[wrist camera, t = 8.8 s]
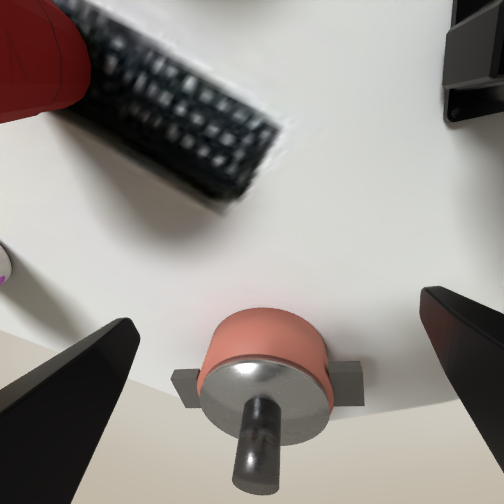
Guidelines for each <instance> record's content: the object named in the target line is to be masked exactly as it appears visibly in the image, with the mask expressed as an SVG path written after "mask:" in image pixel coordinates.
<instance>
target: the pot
mask: <svg viewBox="0 0 504 504" xmlns="http://www.w3.org/2000/svg"><path fill="white" fill-rule="evenodd" d="M246 354H263V355H271V356H276V357H280V358H284V359H287V360H290V361H292V362H295V363H297V364H299V365H301V366H302V367H304V368H306V369H307V370H309V371H310V372H311V373H312V374H314V375H315V376H316V377H317V378H318V379H319V380H320V382H321V383H322V384H323V386H324V388H325V390H326V392H327V396H328V402H329V410H330V414H331V411H332V409H333V406H365V405H364V388H363V371H362V368H361V364H360V361H348V362H328V359H327V353H326V348H325V344H324V341H323V339H322V337H321V335H320V334H319V332H318V331H317V330H316V329H315V328H314V327H313V326H312V325H311V324H310V323H309V322H307V321H306V320H304V319H303V318H301V317H299V316H297V315H295V314H292V313H290V312H287V311H283V310H280V309H273V308H252V309H246V310H243V311H239V312H237V313H234V314H232V315H231V316H229V317H227V318H226V319H225V320H223V321H222V322H221V323H220V324H219V325H218V327H217V328H216V330H215V332H214V334H213V337H212V340H211V343H210V346H209V348H208V351H207V354H206V357H205V360H204V363H203V365H202V368H201V371H200V369H181V370H174V372H173V374H172V377H171V381H172V383H173V385H174V387H175V389H176V390H177V392H178V394H179V396H180V398H181V400H182V402H183V404H184V405H185V407H186V408H201V405H200V400H199V395H200V390H201V387H202V384H203V381H204V379H205V376H206V374H207V373H208V372H209V370H210V369H211V368H212V367H213V366H215V365H216V364H218V363H219V362H221V361H223V360H225V359H228V358H231V357H234V356H239V355H246Z"/></svg>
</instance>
